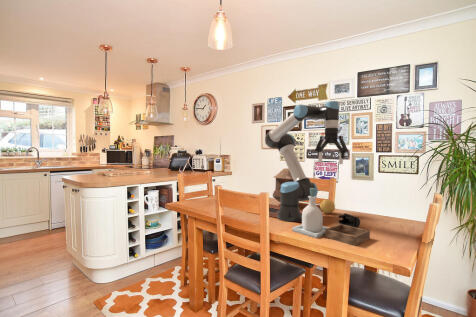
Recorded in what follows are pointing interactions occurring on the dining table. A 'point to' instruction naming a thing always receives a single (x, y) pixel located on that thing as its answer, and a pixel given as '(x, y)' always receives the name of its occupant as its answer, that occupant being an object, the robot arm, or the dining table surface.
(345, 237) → the walnut holder
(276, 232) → the dining table surface
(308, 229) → the soap bottle
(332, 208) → the stress ball
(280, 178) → the pottery vessel
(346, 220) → the end cap
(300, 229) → the tray
